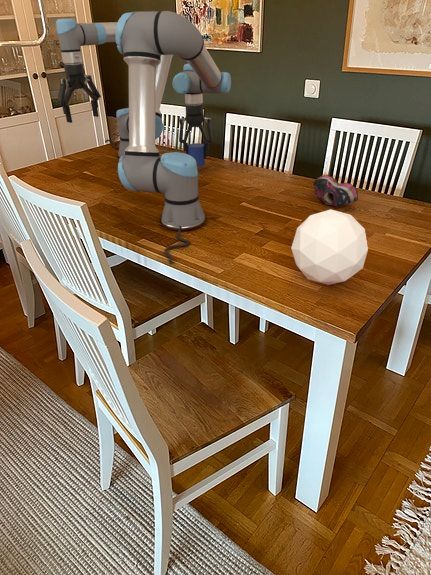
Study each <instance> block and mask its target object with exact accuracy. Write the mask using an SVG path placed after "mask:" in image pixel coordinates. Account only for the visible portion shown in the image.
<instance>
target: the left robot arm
mask: <svg viewBox="0 0 431 575" xmlns="http://www.w3.org/2000/svg"><path fill="white" fill-rule="evenodd" d="M117 23H118V21H115V22H114V21H113V22H77V21H76V19H75V18H58V19H56V21H55V27H56V34H57V37H58V38H57V39H58V42H59V48H60V53H61V58H62V59H61V60H62V63H63V64H64V65H63V70H64V75H65V76H66V78H59V90H58V94H57V101H56V105H58V106H61V107H62V112H63V115H65V120H66V122H67V123H69V124H72V123H73V119H72V113H71V107H70V105H69V102H70V99H71V97H72V95H73V92H74V91H75V90H81V89H82V90H83V91H84V92H85V93H86V94H87V96H89V98H90V99H91V100H90V105H91V112H92V116H93V117H96V118H98V117H99V109H98V108H99V103H98V101H99V100H100V99H101V97H102V96H101V94H100V92H99V90H98V89H97V87H96V85H95V83H94V81H93V78H92V75H91V74H85V67H84V64H83V56H82V50H81V47H85V46H96V45H97V46H99V45H104V44H106V43H116V26H117ZM173 56H174V55H161V63H160V64H159V65H158V66H157V67H156V101H155V141H156V140H157V139H158V138H159V137H160V136H161V135H162V133H163V132H164V123H163V119H161V118H162V115H163V114H162V112H161V110H160V109H161V105H162V101H163V98H164V92H165V88H166V84H167V81H168V77H169V71H170V68H171V63H172V59H173ZM115 115H116V122H117V123H116V124H117V130H118V135H119V146H116V142H115V141H113V140H111V139H106V140H105V141H104V143H108V142H110V143H112V145H113V146H112V147H113V148H114V149H117V150H118V151H117V153H118V154H117V156H118V158H119V159H120V157H121V156H123V155H125V149H126V148H127V147H128V146H129V107H126V108H125V107H124V108H121V109H117V110H116V114H115Z"/></svg>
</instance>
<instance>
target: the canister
mask: <svg viewBox="0 0 431 575" xmlns="http://www.w3.org/2000/svg"><path fill="white" fill-rule="evenodd" d="M188 155H190V156H192V157H193V158H194V159H195V160H196V163H197V168H200V167H204V166H205V165H206V159H204V143H201V142H200V143H199V142H195V143H194V142H193V143H188Z"/></svg>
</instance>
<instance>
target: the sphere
mask: <svg viewBox="0 0 431 575" xmlns="http://www.w3.org/2000/svg"><path fill="white" fill-rule="evenodd" d="M290 250H291V252H292V255H293V259H294V263H295V265H296V267H297V268H298V269H299V270H300V272H301V273H302V274H303V275H304V276H305V277H306V279H307V280H309V281H311V282H315V283H319V284H323V285H327V286H329V285H335V284H339V283H343V282H346V281H348V280H349V279H351V278H352V277H353V276H354V275H356V274H357V273H358V272H360V271H361V270H363V269H364V265H365V262H366V259H367V254H368V251H369V248H368V241H367V233H366V228H364V226H363V225H362V224H361V223H360V222H359V221H357V219H355V217H354V216H353V215H352V214H350V213H347V212H346V213H345V212H342V211H339V210H334V209H331V208H330V209H327V210H324V211H321V212H317V213H313V214H310V215H309V216H307V218H305V220H304V221H303V222H302V223H301V224H300V225H299V226H298V227H297V228H296V230H295V234H294V237H293V241H292V244H291V249H290Z"/></svg>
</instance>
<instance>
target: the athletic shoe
mask: <svg viewBox="0 0 431 575" xmlns="http://www.w3.org/2000/svg"><path fill="white" fill-rule="evenodd" d="M312 186H313V190H314V191H315V193H311V195H312V196H314V197H318V199H319V200H320V202H321V203H322V202H323V203H324V204H325V205H326V206H331V207H336V208H340V207H342V206H343V207H344V206H346V205H350V204H352V203H354V202H357V201H358V200H359V193H358V190H357V188H356V187H355V186H354V185H353V184H352V183H349V182H342V183H339V181H338V180H337V179H336V178H335V177H333V176H331V175H329V174H327V175H326V174H324V175H320V176H319V177H317V178H316V179H315V180H314V182H313V185H312Z"/></svg>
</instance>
